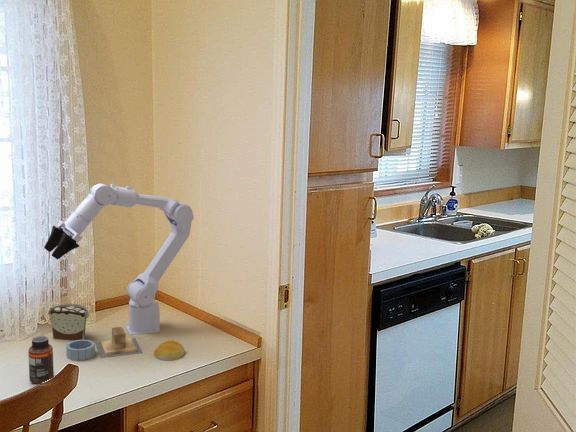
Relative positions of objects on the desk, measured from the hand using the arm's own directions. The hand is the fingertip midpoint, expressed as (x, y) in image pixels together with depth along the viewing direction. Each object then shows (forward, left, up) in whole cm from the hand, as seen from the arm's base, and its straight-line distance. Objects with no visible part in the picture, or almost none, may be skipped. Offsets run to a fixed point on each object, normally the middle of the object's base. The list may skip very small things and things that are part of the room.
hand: (50, 253), depth 177 cm
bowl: (-7, +11, -28) cm, 31 cm away
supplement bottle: (+4, +23, -28) cm, 37 cm away
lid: (-18, +9, -28) cm, 34 cm away
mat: (-18, +9, -28) cm, 34 cm away
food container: (-6, -4, -28) cm, 29 cm away
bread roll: (-31, +18, -28) cm, 46 cm away
